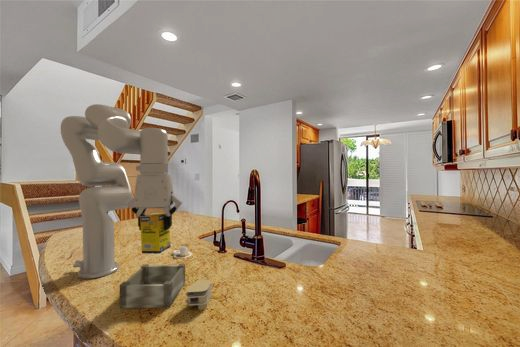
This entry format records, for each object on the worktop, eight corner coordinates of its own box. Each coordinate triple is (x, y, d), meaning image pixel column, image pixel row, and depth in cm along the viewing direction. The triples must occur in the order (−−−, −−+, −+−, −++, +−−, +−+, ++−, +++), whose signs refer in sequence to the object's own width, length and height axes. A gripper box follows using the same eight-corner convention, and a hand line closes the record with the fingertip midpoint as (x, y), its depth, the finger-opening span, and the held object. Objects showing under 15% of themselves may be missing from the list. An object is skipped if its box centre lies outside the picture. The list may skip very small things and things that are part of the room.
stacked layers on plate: (192, 294, 69) (192, 276, 69) (220, 296, 68) (220, 278, 68) (175, 315, 60) (175, 294, 59) (207, 318, 58) (207, 297, 58)
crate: (119, 308, 62) (119, 285, 62) (143, 283, 75) (143, 264, 75) (170, 307, 62) (170, 284, 62) (185, 282, 76) (184, 263, 76)
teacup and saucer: (170, 255, 102) (170, 246, 102) (187, 251, 107) (187, 242, 107) (177, 261, 95) (177, 251, 95) (195, 256, 101) (195, 247, 101)
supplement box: (160, 253, 65) (157, 216, 65) (141, 253, 66) (139, 216, 66) (171, 247, 71) (169, 212, 71) (153, 247, 72) (151, 212, 72)
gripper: (117, 170, 64) (118, 232, 65) (179, 169, 65) (180, 231, 65) (131, 170, 72) (132, 226, 72) (187, 169, 72) (187, 225, 73)
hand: (155, 228), depth 69 cm, fingers closed on supplement box, 6 cm apart
